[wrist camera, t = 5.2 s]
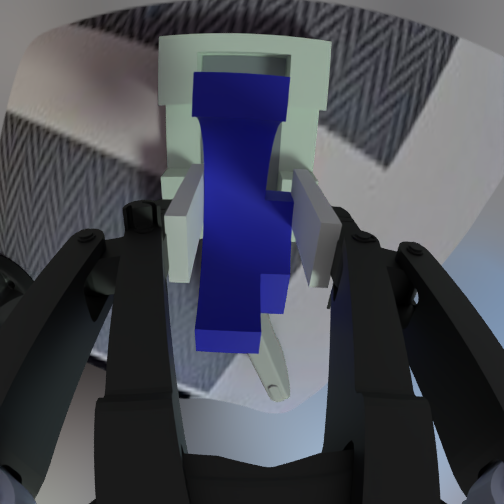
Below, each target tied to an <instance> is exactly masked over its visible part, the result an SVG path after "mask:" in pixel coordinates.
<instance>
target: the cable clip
mask: <svg viewBox="0 0 504 504" xmlns="http://www.w3.org/2000/svg"><path fill="white" fill-rule="evenodd" d="M289 86H290V77H285V76H275V75H264V74H250V73H232V72H194V73H193V93H192V117H196V118H197V119H198V121H199V124H200V127H201V133H202V140H203V153H204V223H203V245H202V262H201V276H200V288H199V299H198V308H197V317H196V324H195V340H196V351H205V352H223V353H248V354H259V347H260V340H261V313H269V314H283V313H284V307H285V302H286V296H287V290H288V284H289V278H290V253H291V235H292V217H293V208H294V200H293V198H292V195H291V192H285V191H271V190H266V186H267V177H268V170H269V163H270V157H271V152H272V147H273V142H274V138H275V135H276V132H277V129H278V126H279V125H280V123H281V122H286V117H287V107H288V97H289Z"/></svg>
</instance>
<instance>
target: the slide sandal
mask: <svg viewBox="0 0 504 504" xmlns="http://www.w3.org/2000/svg"><path fill="white" fill-rule="evenodd" d="M248 355H249V358H250V360H251V362H252V364H253V366H254V368H255V370H256V372H257V374H258V376H259V378H260V380H261V382H262V384H263V386H264V388H265V390H266V392H267V393H268V395H269V397H270V399H271V400H272V401H275V402H281V401H284V399H288V398H289V397H290V384H289V377H288V371H287V366H286V362H285V358H284V354H283V351H282V347H281V345H280V342H279V340H278V338H277V337H276V335H275V332H274V329H273V327H272V324H271V321H270V318H269V316H268V313H261V340H260V347H259V354H248Z"/></svg>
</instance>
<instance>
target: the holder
mask: <svg viewBox="0 0 504 504" xmlns="http://www.w3.org/2000/svg"><path fill="white" fill-rule="evenodd" d="M330 56H331V42H329V41H323V40H316V39H308V38H300V37H290V36H279V35H264V34H240V33H208V34H184V35H170V36H159V58H158V106H160V105H166V140H167V167H168V169H167V170H166V171H165V172H164V174H163V175H162V176H161V187H162V199H173V198H174V196H175V194H176V192H177V190H178V188H179V187H180V185H181V183H182V181H183V179H184V177H185V176H186V174H187V172H188V170H189V168H190V167H191V165H192V164H204V153H203V140H202V133H201V127H200V124H199V121H198V119H197V118H196V117H192V93H193V73H194V72H232V73H250V74H264V75H275V76H285V77H290V86H289V97H288V107H287V117H286V122H281V123H280V125H279V126H278V129H277V132H276V135H275V138H274V142H273V147H272V152H271V157H270V163H269V170H268V177H267V186H266V190H271V191H285V192H291V187H292V178H293V169H305V170H308V171H309V173H310V174H311V176H312V177H313V179H314V180H315V182H316V183H317V185H318V180H317V179H316V177H315V176H314V174H313V164H314V155H315V146H316V136H317V126H318V115H319V110H325V111H326V106H327V95H328V83H329V70H330ZM203 223H204V222H203ZM199 239H203V226H202V230H201V234H200V238H199ZM291 242H296V240H295V237H294V234H293V230H292V235H291Z"/></svg>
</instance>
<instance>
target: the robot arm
mask: <svg viewBox="0 0 504 504" xmlns="http://www.w3.org/2000/svg"><path fill="white" fill-rule="evenodd" d="M291 195H292V198H293V200H294V208H293V217H292V230H293V234H294V237H295V240H296V244H297V247H298V251H299V254H300V257H301V261H302V264H303V268H304V271H305V275H306V279H307V282H308V286H309V287H321V288H328V285H329V280H330V276H331V277H332V279H333V286H332V290H331V294H330V298H329V302H328V306H327V309H330V306H331V320H330V355H329V377H328V396H327V409H326V422H325V423H326V424H325V434H324V444H323V449H322V453H319V454H316V455H312V456H309V457H306V458H303V459H300V460H297V461H294V462H290V463H286V464H283V465H279V466H276V467H262V466H258V465H253V464H248V463H244V462H240V461H235V460H232V459H227V458H224V457H220V456H211V455H197V454H188V451H187V446H186V441H185V435H184V429H183V423H182V417H181V410H180V403H179V396H178V389H177V381H176V373H175V365H174V357H173V347H172V338H171V328H170V316H169V304H168V291H167V281H166V277H167V274H168V271H169V281H170V282H179V283H189V282H190V277H191V273H192V268H193V264H194V259H195V255H196V251H197V247H198V242H199V238H200V234H201V230H202V226H203V222H204V164H192V165H191V167H190V168H189V170H188V172H187V174H186V176H185V177H184V179H183V181H182V183H181V185H180V187H179V188H178V190H177V192H176V194H175V196H174V198H173V199H159V200H157V201H152V200H139V201H134V202H131V203H128V204H127V205H125V206H124V207H123V217H124V225H125V234H124V237H120V238H115V239H109V240H105V237H104V233H103V231H101V230H99V229H85V230H84V229H83V230H81V231H79V232H77V233H75V234H74V235H73V236H71V237H70V239H69V240H68V241H67V242H66V243H65V244H64V245H63V247H62V248H61V249H60V250H59V251H58V253H57V254H56V255H55V256H54V257H53V258H52V260H51V261H50V262H49V263H48V265H47V266H46V267H45V268H44V269H43V271H42V272H41V273H40V274H39V276H38V277H37V278H36V280H35V281H34V282H33V281H32V279H31V278H30V277H29V276H28V275H27V274H26V273H25V272H24V271H23V270H22V269H21V268H20V267H19V266H17V265H16V264H15V263H13V262H12V261H10V260H9V259H7V258H5V257H3V256H0V504H36V501H35V500H34V499H35V497H36V496H37V494H38V492H39V490H40V488H41V486H42V484H43V482H44V480H45V477H46V474H47V471H48V468H49V466H50V463H51V459H52V456H53V453H54V449H55V446H56V443H57V440H58V437H59V434H60V431H61V428H62V425H63V422H64V420H65V417H66V414H67V411H68V408H69V405H70V403H71V400H72V398H73V395H74V392H75V390H76V387H77V385H78V382H79V380H80V377H81V374H82V372H83V370H84V367H85V364H86V362H87V360H88V358H89V355H90V353H91V350H92V348H93V346H94V343H95V341H96V339H97V337H98V334H99V332H100V330H101V328H102V326H103V323H104V321H105V319H106V317H107V315H108V313H109V310H110V308H111V306H112V304H113V307H112V316H111V324H110V334H109V344H108V356H107V370H106V389H105V396H104V398H98V400H97V402H96V408H95V423H94V469H95V492H96V499H95V500H93V501H92V502H91V503H89V504H447V503H445V502H444V501H442V500H441V499H440V484H439V471H438V460H437V451H436V442H435V434H434V427H433V422H434V425H435V427H436V430H437V432H438V435H439V438H440V440H441V443H442V446H443V449H444V451H445V454H446V457H447V459H448V462H449V464H450V467H451V470H452V472H453V475H454V477H455V479H456V480H457V482H458V484H459V486H460V488H461V490H462V491H463V493H464V494H465V496H466V497H467V500H465V501H463V502H462V504H504V349H503V348H502V346H501V344H500V343H499V342H498V340H497V339H496V337H495V336H494V334H493V333H492V331H491V330H490V329H489V327H488V326H487V324H486V323H485V321H484V320H483V319H482V317H481V316H480V315H479V313H478V312H477V310H476V309H475V308H474V306H473V305H472V304H471V302H470V301H469V300H468V298H467V297H466V296H465V295H464V293H463V292H462V291H461V289H460V288H459V287H458V286H457V285H456V283H455V282H454V281H453V279H452V278H451V277H450V276H449V275H448V273H447V272H446V271H445V270H444V268H443V267H442V266H441V265H440V264H439V262H438V261H437V260H436V259H435V258H434V257H433V255H432V254H431V253H430V252H429V251H428V250H427V249H426V248H425V247H423V246H421V245H420V244H418V243H417V244H416V242H402V243H400V244H399V247H398V251H397V252H396V251H392V250H388V249H384V248H381V247H380V243H379V241H378V239H377V238H376V237H375V236H373V235H372V234H370V233H368V232H364V231H361V230H360V229H359V227H358V226H357V224H356V223H355V221H354V220H353V219H352V217H351V216H350V214H349V213H348V212H347V211H346V210H344V209H343V208H341V207H333V206H331V205H330V204H329V202H328V200H327V199H326V197H325V196H324V194H323V193H322V191H321V189H320V188H319V186H318V185H317V183H316V182H315V180H314V179H313V177H312V176H311V174H310V173H309V171H308V170H305V169H293V178H292V187H291ZM417 292H418V297H419V299H418V300H419V301H418V303H417V304H416V303H415V301H414V298H415V295H416V293H417ZM409 366H410V368H411V370H412V372H413V374H414V377H415V379H416V381H417V384H418V386H419V388H420V391H421V393H422V396H423V397H417V396H415V395H414V391H413V385H412V380H411V373H410V368H409Z"/></svg>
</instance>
